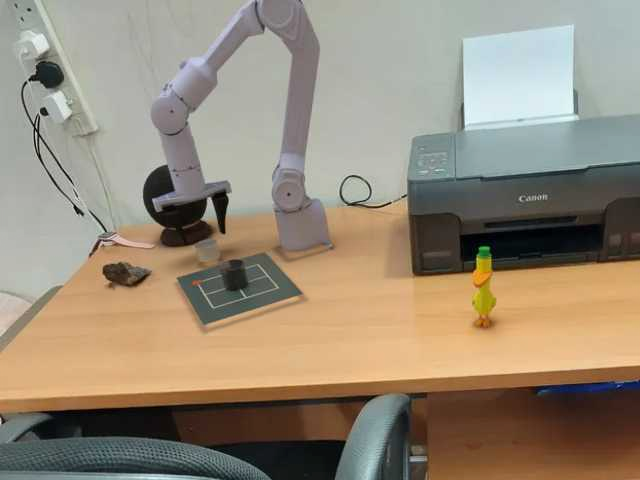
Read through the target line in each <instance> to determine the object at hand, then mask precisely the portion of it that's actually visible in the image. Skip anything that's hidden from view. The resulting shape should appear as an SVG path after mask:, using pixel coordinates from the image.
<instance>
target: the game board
mask: <svg viewBox="0 0 640 480" xmlns="http://www.w3.org/2000/svg"><path fill="white" fill-rule="evenodd" d="M239 260H242V261H243V262H244V266H245V270H246V274H247V278H248V282H249V284H248V285H247V286H246V287H245V288H243V289H240V290H236V291H229V290H226V289H225V287H224V283H223V280H222V276H221V272H220V268H219V266H220V264H218V265H215V266H212V267H211V266H210V267H208V268H205V269H201V270H198V271H195V272H190V273H188V274H183V275H180V276H177V277H176V280H177V282H178V283H179V285H180V288H181V289H182V290H183V293H184V294H185V296H186V298H187V299H188V301H189V303H190V304H191V306H192V308H193V310H194V312H195V313H196V314H197V317H198V318H199V320H200V322H201V324H202V325H203V326H206V325H210V324H213V323H215V322H218V321H222V320H225V319H228V318H231V317H235V316H237V315H241V314H244V313H248V312H250V311H254V310H257V309H260V308H263V307H267V306H269V305H273V304H275V303H276V304H277V303H279V302H282V301H286V300H289V299H291V298H295V297H298V296H302V295H304V292H302V291H301V289H300V288H299V287H298V286H297V285H296V284H295V283H294V282H293V281H292V280H291V278H289V276H288V275H287V274H286V273H285V272H284V271H283V270H282V269H281V268H280V267H279V265H278V264H277V263H276V262H275V261H274V260H273V259H272V257H270V256H269V255H268V254H267V252H265V251H263V252H259V253H256V254H252V255H248V256H246V257H242V258H239Z"/></svg>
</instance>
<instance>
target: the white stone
mask: <svg viewBox="0 0 640 480" xmlns="http://www.w3.org/2000/svg"><path fill="white" fill-rule="evenodd" d="M194 248H195V252H196V255H197V259H198V261H199V262H201V263H209V262H215V261H216V260H218V259H220V258H221V256H222V255H221V251H220V247H219V243H218V240H217V239H213V238H209V239H208V238H206V239H204V240H202V241H200V242H197V243H195V244H194Z"/></svg>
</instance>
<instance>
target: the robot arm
mask: <svg viewBox="0 0 640 480" xmlns="http://www.w3.org/2000/svg"><path fill="white" fill-rule="evenodd" d="M266 29H268V31H270V32H271V33H273V34H274V35H276V36H277V37H278V38H279V39H280V40H281V42H282V43H283V44H284V46H285V47H286V49H287V50H288V51H289V52H290V54H291V61H290V68H289V69H290V71H289V78H288V86H287V87H288V88H287V97H286V104H285V110H284V120H283V128H282V137H281V147H280V153H279V160H278V163H277V165H276V167H275V168H274V170H273V171H272V175H271V180H272V181H271V182H272V188H271V199H272V201H273V205H272V207H273V211H274V217H275V221H276V227H277V232H278V236H279V237H278V238H279V241H280V245H281V246H280V247H281V248H282V250H284V251H286V252H302V251H305V250H309V249H311V248H313V247H315V246H318V245H321V244H324V245H325V246H326V247H327V248H329V249H332V248H333V244H332V243H331V236H330V231H329V230H330V229H329V223H328V217H327V214H326V210H325V207H324V203H322V200H321V199H319V198H317V197H315V198H311V197H310V196H308V195H307V189H306V184H305V183H306V176H305V164H306V163H305V162H306V154H307V146H308V139H309V132H310V126H311V120H312V119H311V118H312V111H313V104H314V97H315V89H316V84H317V83H316V82H317V76H318V75H317V74H318V67H319V61H320V55H321V46H320V45H321V44H320V41H319V38H318V36H317V33H316V31H315V29H314V25H313V24H312V22H311V19H310V17H309V15H308V11H307V9H306V7H305V4H304V2H303V0H248V1H247V2H246V3H245V4H244V5H242V6H241V7H240V8H239V9H238V11H237V12H236V13H235V14H234V15H233V16H232V18H231V20H230V21H229V22H228V23H227V25H226V26H225V27H224V29H223V30H222V31H221V32H220V34H219V35H218V36H217V38H216V39H215V40H214V42H213V43H212V44H211V45H210V47H209V48H208V49H207V51H206V52H205V53H204V54H203V55H202V56H191V57H189V58H188V59H187V60H186V59H185V58H184V59H182V61H181V62H180V63H179V65H178V67H179V68H180V69H179V71H178V72H177V73H176V75H174V77H173V78H172V80H170V82H169V83H166V82H165V83H164V84H163V86H162V87H161V90H162V91H163V92H162V93H160V94H159V95H158V96H157V98H155V100H154V101H153V103H152V105H151V107H150V120H151V122H152V124H153V126H154V127H155V128H156V129H157V130H158V135H159V137H160V141H161V147H162V151H163V154H164V157H165V161H166V165H167V164H168V168H169V171H170V175H171V178H172V182H173V185H174V189H175V191H174V192H171V193H168V194H166V195H163V196H161V197H158V198H154V199H152V201H153V204H154V207H155V210H156V211H157V212H160V211H162V212H163V213H164V215H165V216H166V217H167V218H168V219H169V221H170V222H171V223H172V224H173V226H174V227H175V229H176V230H177V232H178V234H179V236H180V238H181V240H182V243H183V244H184V245H186V246H189V245H188V243H187V239H186V237H185V234H184V231H183V228H182V224H181V220H180V216H179V213H178V212H177V209H176V208H175V206H178V205H182V204H185V203H189V202H193V201H197V200H201V199H205V198H207V199H209V198H210V200H211V201H212V206H213V209H214V212H215V217H216V221H217V226H218V230H219V232H220V234H221V235H222V236H224V235H226V234H227V232H226V218H227V210H228V206H229V203H230V198H229V196H228V195H229V194H232V193H233V190H232V187H231V186H232V185H231V183H230V181H229V180H228V179H225V180H221V181H220V180H219V181H214V182H207V183H206V181H205V177H204V173H203V170H202V165H201V161H200V157H199V154H198V150H197V146H196V142H195V139H194V136H193V134H192V130H191V126H190V122H189V121H188V119H189V117H190V114H193V113H195V112H196V111H197V110H198V109H199V108H200V106H202V104H203V103H204V102H205V101H206V99H207V98H208V97H209V96H210V94H211V93H213V91H214V90H215V88H216V87H217V86H218V85H219V80H218V71H219V70H220V69H222V67H223V66H224V65H225V64H226V62H228V60H229V59H230V58H231V57H232V56H233V55H234V54H235V53H236V52H237V50H238V49H239V48H240V47H241V46H242V45H243V44H244V42H245V41H246V40H247V39H248V38H250V37H256V36H261V35H264V34H265V31H266Z"/></svg>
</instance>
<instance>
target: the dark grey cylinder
mask: <svg viewBox="0 0 640 480" xmlns="http://www.w3.org/2000/svg"><path fill="white" fill-rule="evenodd" d="M239 259H240V258H239ZM239 259H238V258H235V259H228V260H225V261H223V262H222V263H221V264H219V265H220V266H219V268H220V272H221V276H222V280H223V283H224V287H225V289H226V290H229V291H236V290H240V289H243V288H245V287H246V286H247V285H248V284H249V282H248V278H247V274H246V270H245V266H244V262H243V261H242V260H239Z"/></svg>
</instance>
